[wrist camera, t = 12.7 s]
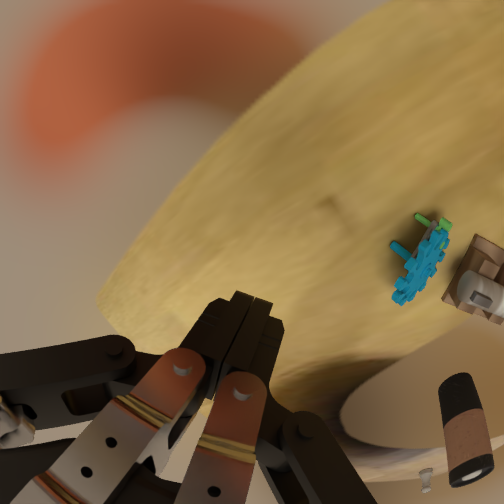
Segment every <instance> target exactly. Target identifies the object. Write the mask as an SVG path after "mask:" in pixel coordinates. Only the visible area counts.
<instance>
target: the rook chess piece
mask: <svg viewBox="0 0 504 504" xmlns="http://www.w3.org/2000/svg"><path fill="white" fill-rule="evenodd" d="M432 471H433V470H432V469H431V468H428V469H424V470H422V471H421V472H420V473H419V474H420V478H421V479H422V487H423V488H422V490H421V491H422V493H425V492H426V493H427V491H428V492H429V491H430V489H431V487H430V478H431V475H432V473H433V472H432Z"/></svg>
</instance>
